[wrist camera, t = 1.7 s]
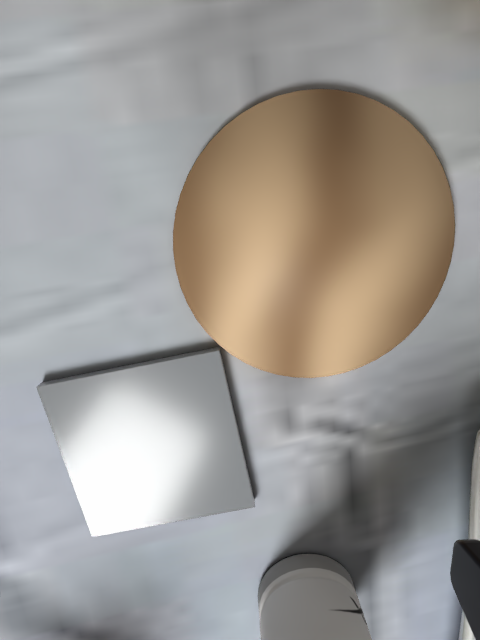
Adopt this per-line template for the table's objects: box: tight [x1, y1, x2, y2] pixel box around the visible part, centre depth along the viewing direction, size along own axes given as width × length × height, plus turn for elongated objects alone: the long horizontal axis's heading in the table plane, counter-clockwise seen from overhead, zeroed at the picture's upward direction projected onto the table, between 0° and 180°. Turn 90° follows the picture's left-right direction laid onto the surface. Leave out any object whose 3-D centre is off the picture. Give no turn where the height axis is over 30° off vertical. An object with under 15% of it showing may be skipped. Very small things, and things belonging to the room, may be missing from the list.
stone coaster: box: [37, 347, 255, 537], centre depth 21 cm, size 10×10×1 cm
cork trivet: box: [173, 89, 455, 378], centre depth 19 cm, size 14×14×1 cm
